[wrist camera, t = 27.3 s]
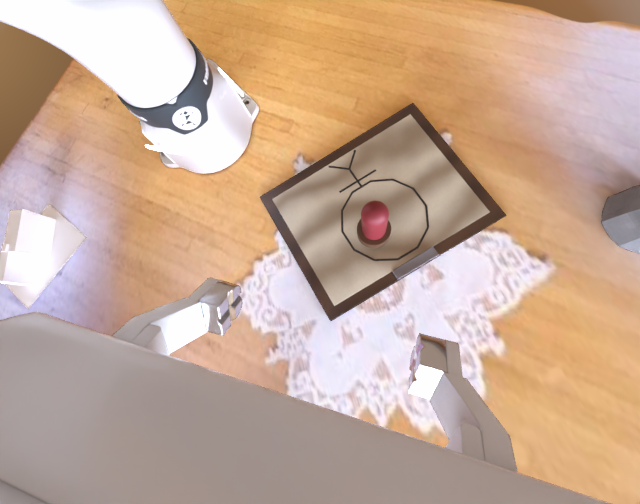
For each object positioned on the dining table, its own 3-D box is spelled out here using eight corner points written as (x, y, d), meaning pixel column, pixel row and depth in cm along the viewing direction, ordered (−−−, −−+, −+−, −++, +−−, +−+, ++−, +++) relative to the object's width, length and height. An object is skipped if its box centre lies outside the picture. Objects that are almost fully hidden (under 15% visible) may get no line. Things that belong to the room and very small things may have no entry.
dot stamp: (351, 229, 44) (346, 204, 34) (378, 212, 44) (381, 182, 34) (368, 255, 43) (368, 237, 33) (396, 238, 43) (404, 215, 33)
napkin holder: (48, 203, 54) (12, 189, 49) (87, 236, 51) (53, 226, 46) (-8, 271, 53) (-52, 266, 47) (28, 310, 50) (-14, 308, 44)
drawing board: (260, 197, 48) (257, 194, 47) (412, 104, 47) (414, 98, 46) (331, 321, 42) (329, 321, 41) (505, 216, 42) (509, 213, 40)
